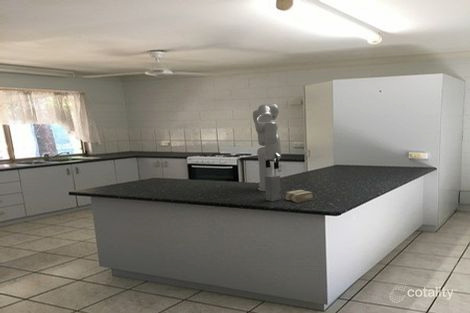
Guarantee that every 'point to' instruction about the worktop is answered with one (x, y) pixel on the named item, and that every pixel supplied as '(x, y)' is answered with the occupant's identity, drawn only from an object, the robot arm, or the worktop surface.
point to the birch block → (299, 195)
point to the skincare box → (272, 187)
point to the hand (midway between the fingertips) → (272, 168)
